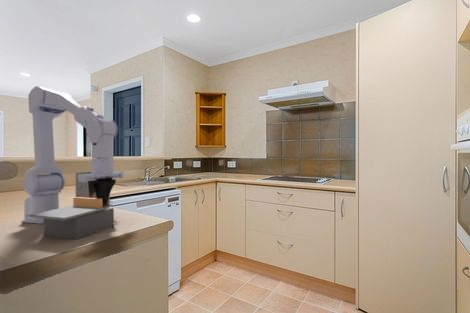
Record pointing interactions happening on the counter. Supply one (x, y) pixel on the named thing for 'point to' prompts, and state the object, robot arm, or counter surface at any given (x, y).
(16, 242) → the counter surface
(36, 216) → the box lid
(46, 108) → the robot arm
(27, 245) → the counter surface
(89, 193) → the coffee box
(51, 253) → the counter surface
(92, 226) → the grey box
